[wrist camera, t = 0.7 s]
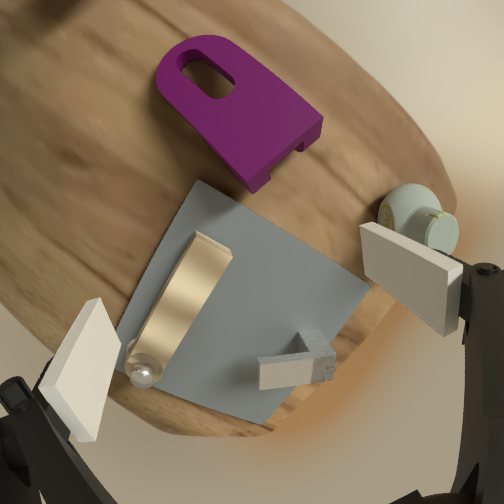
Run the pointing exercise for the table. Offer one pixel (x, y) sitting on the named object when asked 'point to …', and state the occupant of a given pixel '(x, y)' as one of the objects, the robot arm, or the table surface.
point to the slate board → (241, 305)
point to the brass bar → (178, 303)
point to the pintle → (141, 373)
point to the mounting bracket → (239, 108)
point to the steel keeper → (298, 363)
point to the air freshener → (419, 217)
